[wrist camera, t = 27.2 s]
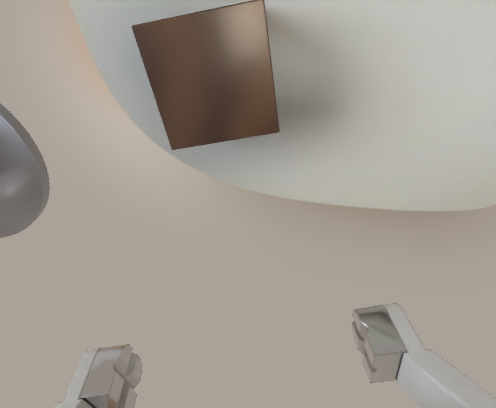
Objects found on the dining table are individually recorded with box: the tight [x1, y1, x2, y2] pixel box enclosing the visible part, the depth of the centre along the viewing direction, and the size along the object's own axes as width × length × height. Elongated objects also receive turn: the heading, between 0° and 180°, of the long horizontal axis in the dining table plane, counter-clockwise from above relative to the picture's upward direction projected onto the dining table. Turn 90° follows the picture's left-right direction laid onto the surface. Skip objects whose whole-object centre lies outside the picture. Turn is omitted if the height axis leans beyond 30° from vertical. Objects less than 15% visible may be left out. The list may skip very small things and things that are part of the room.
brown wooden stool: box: [132, 0, 279, 150], centre depth 31 cm, size 11×11×10 cm
